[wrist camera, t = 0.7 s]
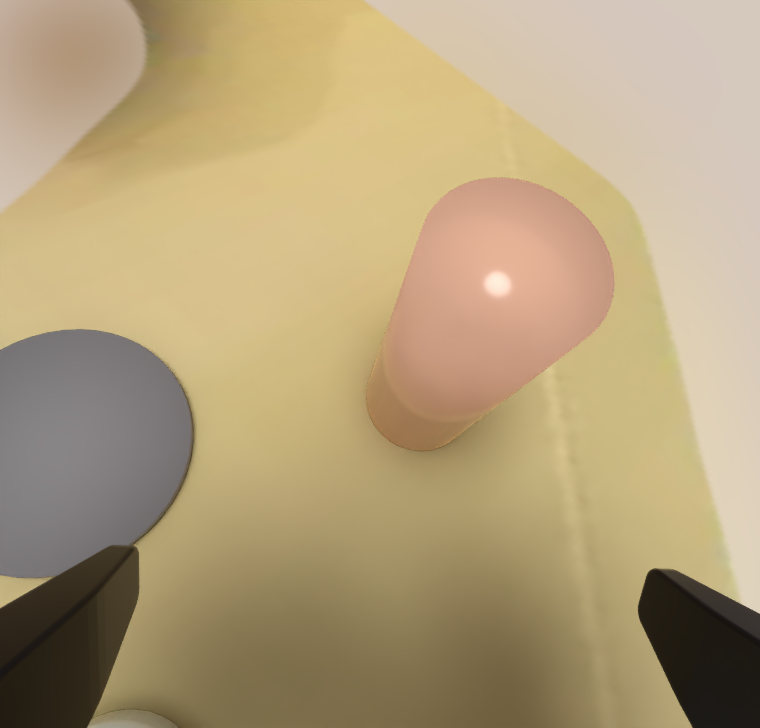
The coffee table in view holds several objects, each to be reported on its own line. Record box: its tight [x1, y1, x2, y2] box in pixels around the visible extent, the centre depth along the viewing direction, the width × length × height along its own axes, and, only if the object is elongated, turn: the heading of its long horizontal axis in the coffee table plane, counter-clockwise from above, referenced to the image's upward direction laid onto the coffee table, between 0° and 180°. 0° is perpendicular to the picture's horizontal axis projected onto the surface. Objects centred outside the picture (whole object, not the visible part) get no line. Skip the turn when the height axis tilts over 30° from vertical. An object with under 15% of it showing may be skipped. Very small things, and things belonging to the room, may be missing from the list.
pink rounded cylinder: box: [366, 178, 614, 451], centre depth 18 cm, size 5×5×12 cm
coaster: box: [0, 329, 193, 578], centre depth 20 cm, size 10×10×1 cm
